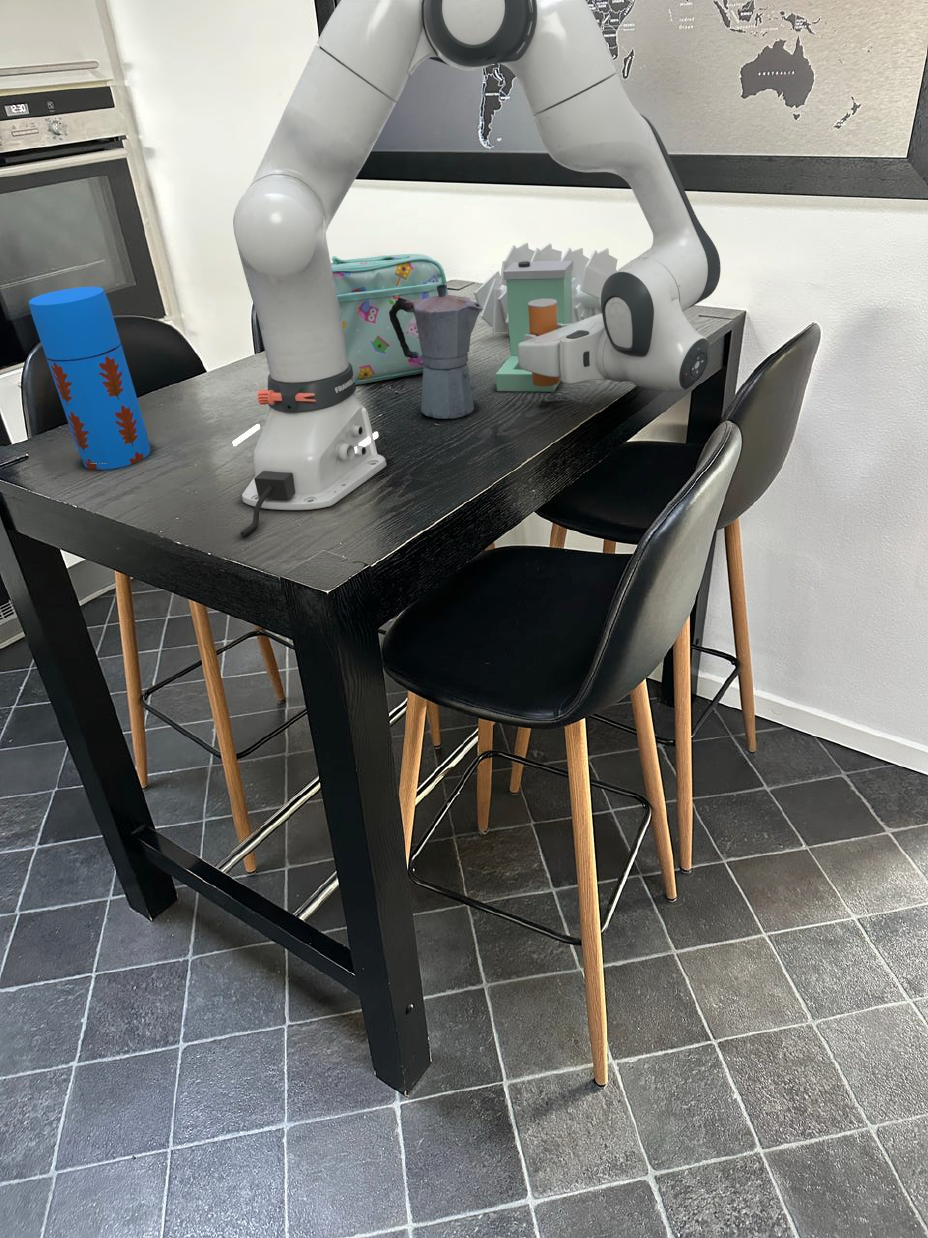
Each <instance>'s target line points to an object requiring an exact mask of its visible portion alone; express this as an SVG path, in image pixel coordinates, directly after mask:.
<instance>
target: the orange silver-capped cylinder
mask: <svg viewBox="0 0 928 1238" xmlns="http://www.w3.org/2000/svg"><path fill="white" fill-rule="evenodd" d="M528 312H529V330H530V333H531V332H532V333H538V336H540V335H543V334H545V333H548V332H551V331H554V330H556V329H558V319H557V301H556V300H555V299H537V300H533V301H530V302H529V303H528ZM559 382H560V383H561V381H560V377H548V376H544V375H540V374H536V373H533V372H532V383H533V384H534V385H536V386H552V385H556V384H558V383H559ZM560 383H559V384H560ZM559 384H558V385H559Z"/></svg>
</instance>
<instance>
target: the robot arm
mask: <svg viewBox="0 0 928 1238" xmlns="http://www.w3.org/2000/svg"><path fill="white" fill-rule="evenodd" d="M316 44H317V45H315V46H314V47H313V49H312V51H311V54H310V56H309V58H308V60H307V62H306V64H305V67H304V68H303V70H302V73H301V75H300V77H299V79H298V81H297V83H296V85H295V87H294V90H293V91H292V93H291V96H290V98H289V100H288V102H287V104H286V106H285V107H284V110H283V112H282V115H281V118H280V119H279V121H278V124H277V126H276V128H275V131H274V133H273V135H272V138H271V140H270V141H269V144H268V146H267V148H266V151H265V153H264V155H263V157H262V159H261V161H260V163H259V166H258V167H257V170H256V172H255V174H254V176H253V178H252V180H251V182H250V184H249V186H248V188H247V189H246V191H245V192H244V193H243V195H242V196H241V197H240V199H239V200H238V202H237V204H236V207H235V209H234V212H233V217H232V228H233V235H234V239H235V243H236V247H237V251H238V255H239V258H240V262H241V266H242V270H243V273H244V278H245V280H246V285H247V287H248V291H249V294H250V297H251V301H252V304H253V307H254V309H255V313H256V316H257V321H258V324H259V329H260V334H261V338H262V344H263V349H264V353H265V357H266V363H267V368H268V372H269V374H268V376H267V386H266V389H259V390H258V392H257V395H256V398H257V399H256V400H257V401H258V404H259V405H260V406H266V405H268V407H269V410H268V413H267V416H266V419H265V421H264V424H263V427H262V429H261V426H260V423H257V424H255V425H254V426H253V427H251V428H250V429H248V430H246V432H244V433H243V434H241V435H240V436H239V437H237V438H235V439H234V440H233V441H232V446H233V447H236V446H238V445H239V444H240V443H242V442H243V441H244V440H246V439H247V438H249V437H250V436H251V435H253V434H255V433H256V432H257V431H259V430H260V429H261V432H260V434H259V438H258V441H257V443H256V446H255V449H254V451H253V456H252V461H253V470H254V477H253V478H252V479H251V481H250V482H249V484H248V485H247V487H246V488H245V490H244V491H243V492H242V494H241V499H242V502H243V503H245V504H246V505H249V506H252V507H254V508H253V514H252V515H253V517H252V522H251V524H250V525H249V526H248V527H246V528H244V529H242V530H241V531H240V536H241V537H243V538H244V537H246V536H247V535H249V534H250V533H252V532H253V531H254V530H255V529H256V528H257V526H258V524H259V519H260V511H261V509H267V510H282V511H309V510H316V509H323V508H327V507H331V506H333V505H335V504H336V503H337V502H339V501H341V499H343V498H344V497H346V496H347V495H349V494H350V493H351V492H353V491H354V490H356V489H357V488H358V487H360V486H361V485H362V484H364V483H365V482H367V481H368V480H369V479H371V478H372V477H373V476H375V475H377V474H378V473H379V472H380V471H382V470H383V469H384V468H385V467H387V460H386V458H385V457H384V456H383V455H381V454H378V451H377V447H376V443H375V440H376V439H378V438H379V432H378V431H374V432H373V429H372V425H371V419H370V417H369V413H368V410H367V409H366V407H364V405H363V404H362V403H361V401H360V400H359V399H358V396H357V395H356V393H355V392H356V390H357V386H356V385H355V375H354V373H353V369H352V365H351V364H350V363H349V362H348V357H347V351H346V344H345V338H344V332H343V325H342V319H341V313H340V307H339V302H338V298H337V293H336V288H335V283H334V278H333V273H332V268H331V263H332V262H331V258H330V252H329V245H328V239H327V231H328V229H329V226H330V224H331V223H332V221H333V219H334V217H335V216H336V214H337V212H338V210H339V208H340V206H341V205H342V202H343V201H344V199H345V197H346V196H347V194H348V193H349V190H350V188H351V187H352V185H353V184H354V182H355V180H356V178H357V177H358V175H359V173H360V171H362V168H363V167H364V165H365V163H366V161H367V159H368V158H369V156H370V153H371V152H372V150H373V148H374V146H375V144H376V142H377V140H378V139H379V137H380V135H381V133H382V131H383V129H384V127H385V125H386V123H387V121H388V119H389V118H390V115H391V114H392V112H393V110H394V108H395V106H396V104H397V102H398V101H399V99H400V97H401V94H402V93H403V91H404V89H405V87H406V85H407V83H408V81H409V80H410V79H411V76H412V75H413V73H414V72H415V70H416V69H417V68H418V67H419V66H420V65H421V64H422V63H423V62H424V61H426V60H427V59H428V60H431V61H435V62H437V63H438V62H439V63H442V64H444V65H447V66H449V67H452V68H454V69H457V70H460V71H466V72H475V71H481V70H483V69H486V68H488V67H491V66H493V65H503V66H504V67H506V68H507V69H509V70H510V71H511V72H512V73H513V75H514V76H515V77H516V79H517V81H518V83H519V84H520V87H521V88H522V91H523V94H524V96H525V98H526V102H527V106H528V107H529V108H528V109H529V110H530V114H531V115H532V119H533V122H534V125H535V127H536V130H537V133H538V136H539V139H540V141H541V142H542V145H543V147H544V148H545V150H546V151H547V153H548V155H549V156H550V158H551V159H552V160H553V161H555V162H556V163H557V164H559V165H560V166H562V167H563V168H566V169H569V170H572V171H575V172H581V173H611V174H614V175H616V176H619V177H621V178H622V179H623V180H624V181H625V182H626V183H627V184H628V185H629V187H630V188H631V190H632V193H633V195H634V197H635V198H636V201H637V203H638V205H639V207H640V209H641V211H642V213H643V215H644V217H645V220H646V222H647V224H648V227H649V228H650V230H651V233H652V244H651V247H650V248H648V249H646V251H644V252H642V253H641V254H639V256H637V257H635V258H633V259H631V260H630V261H629V262H627V263H625V264H624V265H623V266H621V268H619V269H618V270H617V271H616V272H615V273H614V274H612V275H611V276H610V277H609V278H608V279H607V280H606V281H605V283H604V285H603V288H602V293H601V310H602V313H600V314H598V315H595V316H592V317H589V318H587V319H584V320H581V321H578V322H576V323H571V324H559V323H558V329H556V330H554V331H551V332H548V333H545V334H543V335H540V336H538V333H532V332H531V333H528V334H525V335H524V341H523V342H521V343H519V344H518V361H519V365H520V367H521V368H522V369H524V370H526V371H529V372H533V373H536V374H540V375H544V376H548V377H561V381H560V382H562V383H563V384H568V385H573V384H578V383H584V382H590V381H606V380H609V381H612V382H619V383H622V382H623V383H624V382H630V383H631V384H632V385H635V386H637V387H639V388H644V389H647V390H654V391H661V392H683V391H686V390H688V389H689V388H691V387H692V386H693V385H695V384H696V382H697V381H699V380H700V379H701V377H702V376H703V375H704V372H705V370H706V369H707V366H708V364H709V360H710V354H711V345H710V341H709V339H708V338H706V337H705V336H704V335H702V334H700V333H699V332H697V331H696V330H695V328H694V327H693V326H692V325H691V323H690V322H689V320H688V318H687V317H686V316H685V313H684V312H685V311H687V310H688V309H690V308H693V307H694V306H696V305H697V304H699V303H701V302H702V301H704V300H705V299H708V298H709V297H710V296H711V295H712V294H713V293H714V292H715V290H717V287H718V285H719V282H720V279H721V259H720V254H719V251H718V248H717V247H716V245H715V243H714V241H713V240H712V238H711V237H710V236H709V234H708V233H707V231H706V229H704V227H703V225H702V224H701V222H700V220H699V219H698V217H697V215H696V212H695V211H694V209H693V206H692V204H691V202H690V200H689V197H688V195H687V192H686V191H685V188H684V186H683V184H682V181H681V179H680V177H679V175H678V172H677V170H676V168H675V166H674V163H673V162H672V159H671V157H670V154H669V152H668V150H667V149H666V146H665V144H664V142H663V140H662V138H661V136H660V134H659V133H658V131H657V129H656V127H655V126H654V125H653V123H652V122H651V121H650V119H648V117H646V116H645V115H643V114H641V113H639V112H638V111H637V109H636V108H635V107H634V105H633V104H632V102H631V100H630V99H629V97H628V94H627V93H626V91H625V88H624V87H623V84H622V82H621V79H620V77H619V74H618V71H617V68H616V64H615V62H614V58H613V55H612V53H611V51H610V48H609V45H608V43H607V40H606V38H605V35H604V34H603V31H602V29H601V27H600V25H599V23H598V20H597V19H596V17H595V14H594V12H593V11H592V9H591V8H590V5H589V4H588V2H587V0H340V1H339V2H338V4H337V6H336V7H335V9H334V10H333V12H332V14H331V15H330V17H329V19H328V20H327V23H326V24H325V25H324V27H323V30H322V32H321V33H320V36H319V37H318V40H317V41H316Z"/></svg>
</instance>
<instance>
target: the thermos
mask: <svg viewBox="0 0 928 1238" xmlns="http://www.w3.org/2000/svg"><path fill="white" fill-rule="evenodd" d="M28 304H29V310H30V314H31V316H32V320H33V323H34V325H35V329H36V331H37V334H38V337H39V341H40V343H41V344H40V345H41V346H42V349H43V352H44V355H45V358H46V361H47V364H48V367H49V370H50V373H51V376H52V379H53V382H54V385H55V387H56V390H57V393H58V397H59V400H60V402H61V405H62V408H63V411H64V415H65V418H66V421H67V423H68V426H69V429H70V432H71V435H72V438H73V440H74V443H75V446H76V448H77V451H78V453H79V455H80V458H81V460H82V463H83V465H84V467H85V468H87V469H90V470H94V471H105V470H114V469H119V468H123V467H127V466H130V465H133V464H136V463H138V462H140V461H142V460H144V459H145V458H147V457H148V456H149V455H150V453H151V445H150V441H149V436H148V433H147V427H146V424H145V421H144V417H143V414H142V410H141V408H140V404H139V400H138V397H137V394H136V390H135V387H134V383H133V379H132V377H131V372H130V369H129V365H128V362H127V359H126V356H125V352H124V349H123V345H122V342H121V339H120V335H119V332H118V329H117V325H116V322H115V318H114V314H113V311H112V308H111V304H110V301H109V299H108V297H107V294H106V292H105V289H103V288H102V287H99V286H82V287H71V288H66V289H65V288H64V289H59V290H55V291H50V292H47V293H43V294H40V295H37V296H35V297H33V298H31V299H30V300H28ZM83 460H84V461H86V462H84V461H83ZM87 462H88V463H87ZM89 462H90V463H97V464H90V463H89ZM99 463H100V464H99ZM101 463H107V464H101Z"/></svg>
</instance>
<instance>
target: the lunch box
mask: <svg viewBox="0 0 928 1238" xmlns="http://www.w3.org/2000/svg"><path fill="white" fill-rule="evenodd" d="M331 261H332V262H331V268H332V273H333V278H334V283H335V288H336V293H337V298H338V302H339V307H340V313H341V319H342V325H343V332H344V338H345V344H346V351H347V357H348V362H349V363H350V364H351V365H352V369H353V373H354V375H355V386H356V385H363V384H370V383H377V382H381V381H387V380H388V381H389V380H392V379H398V378H403V377H409V376H414V375H419V374H423V367H424V364H423V358H422V351H421V346H420V341H419V335H418V330H417V325H416V319H415V315H414V313H409V312H405V311H404V310H399V311H398V312H397V318H398V319H399V322H400V326H401V328H402V331H403V333H404V337H405V340H406V341H405V342H406V343H407V345H408V347H409V350H410V351H411V352H417V353H418V354H419V356H418V358H417V359H416V358H410V357H406V356H405V355H404V352H403V350H402V347H401V345H400V341H399V340H398V337H397V335H396V332H395V330H394V328H393V325H392V323H391V321H390V316H389V311H390V310H391V309H392V306H393V305H395V302H396V301H397V300H398V298H403V299H407V300H410V299H417V300H422V299H425V298H427V297H432V296H438V291H437V286H438V285H446V286H447V287H448V284H447V277H446V274H445V271H444V268H443V266H442V264H441V263H440V262H438V261H437V260H435V259H434V258H432V257H431V256H428V255H426V254H421V253H403V254H402V253H401V254H389V255H388V254H387V255H377V256H372V257H371V256H370V257H361V258H360V257H359V258H350V259H341V258H338V257H337V256H332V257H331ZM446 295H449V291H448V288H447V289H446Z"/></svg>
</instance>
